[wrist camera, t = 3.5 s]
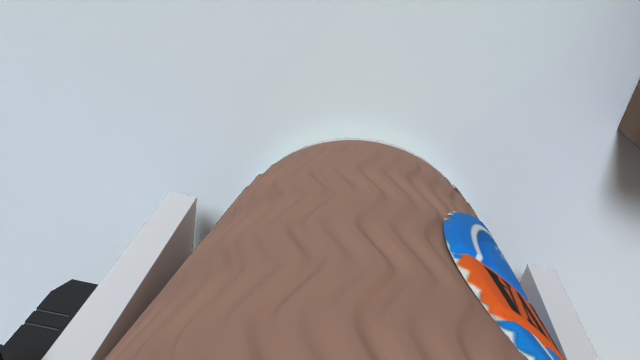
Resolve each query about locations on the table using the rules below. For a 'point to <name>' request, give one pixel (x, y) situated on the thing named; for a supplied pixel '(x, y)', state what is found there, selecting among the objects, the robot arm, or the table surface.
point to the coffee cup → (343, 271)
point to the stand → (632, 119)
